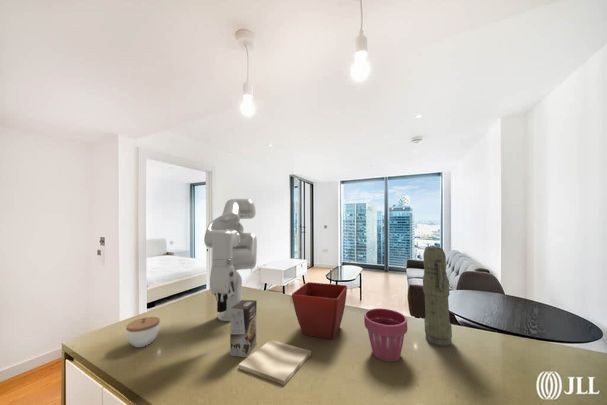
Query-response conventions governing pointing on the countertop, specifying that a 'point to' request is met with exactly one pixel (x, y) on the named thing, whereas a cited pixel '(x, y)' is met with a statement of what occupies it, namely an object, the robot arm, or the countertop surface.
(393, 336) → the plant pot
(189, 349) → the countertop surface
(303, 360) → the birch board
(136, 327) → the lidded jar
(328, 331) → the plant pot
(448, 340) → the moai statue figurine
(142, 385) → the countertop surface
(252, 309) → the coffee box
